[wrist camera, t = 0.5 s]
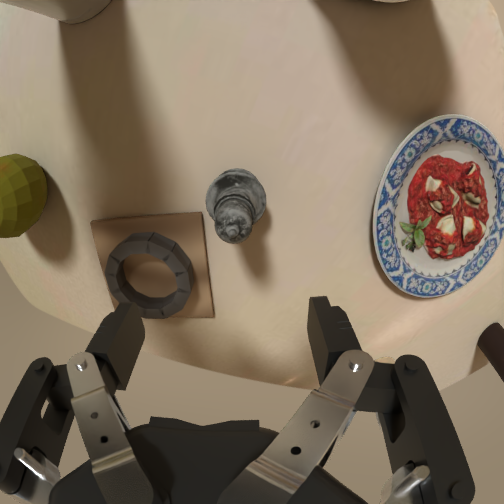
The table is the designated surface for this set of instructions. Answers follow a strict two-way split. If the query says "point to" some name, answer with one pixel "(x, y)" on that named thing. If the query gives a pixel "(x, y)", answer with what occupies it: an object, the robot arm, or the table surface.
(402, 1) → the milk container
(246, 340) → the table surface
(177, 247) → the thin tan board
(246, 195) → the chess piece
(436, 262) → the ceramic plate
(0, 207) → the apple
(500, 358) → the bottle
